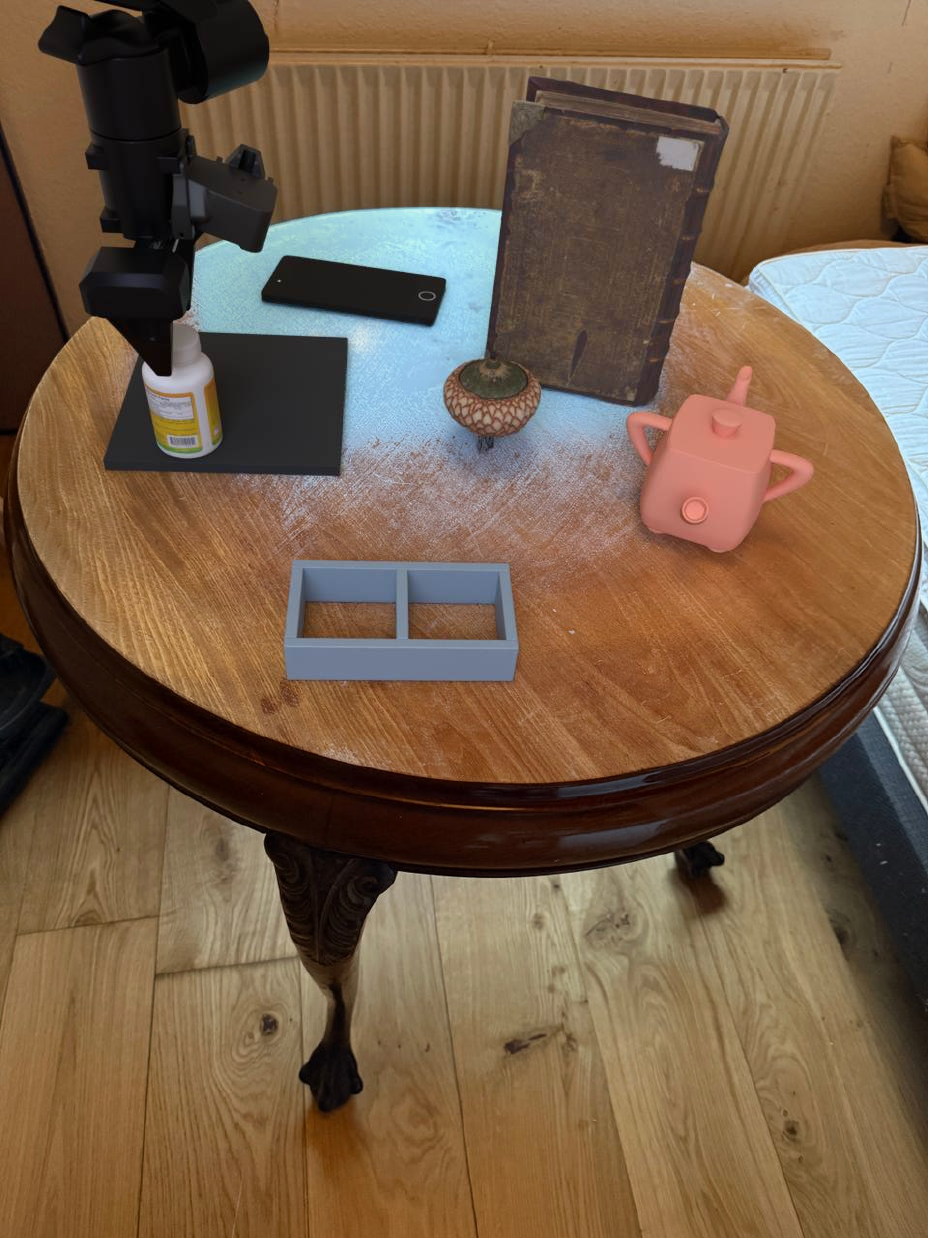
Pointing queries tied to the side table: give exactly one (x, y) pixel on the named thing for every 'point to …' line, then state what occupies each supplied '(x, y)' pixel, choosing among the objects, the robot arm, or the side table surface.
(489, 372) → the acorn
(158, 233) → the robot arm
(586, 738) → the side table surface
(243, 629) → the side table surface
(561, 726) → the side table surface
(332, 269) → the cell phone
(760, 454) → the teapot
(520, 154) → the book
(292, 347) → the mat
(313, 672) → the holder
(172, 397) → the supplement bottle
